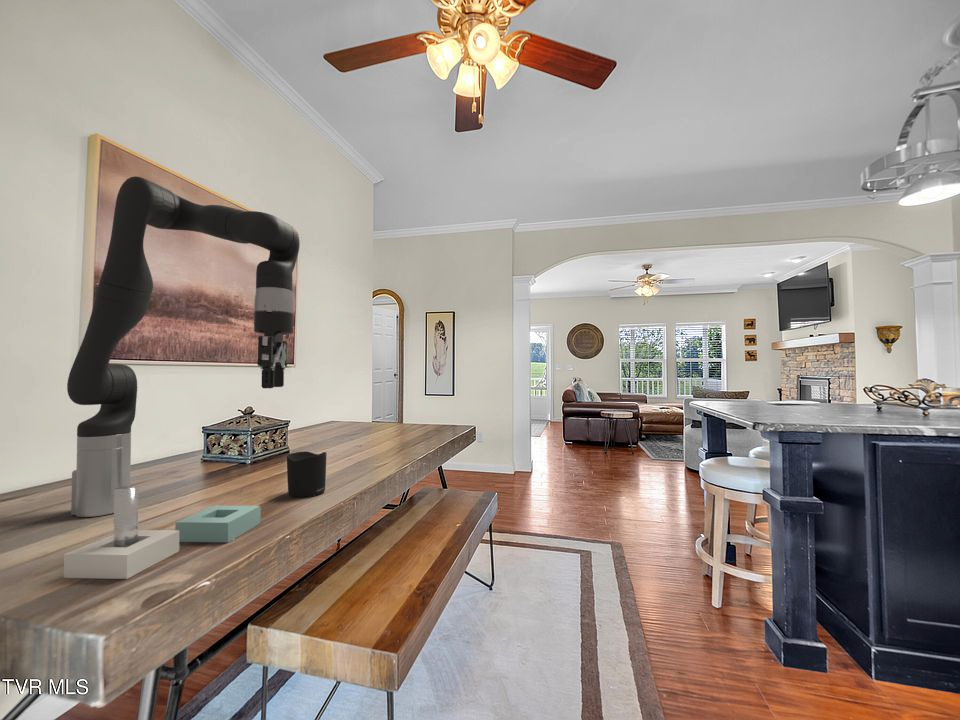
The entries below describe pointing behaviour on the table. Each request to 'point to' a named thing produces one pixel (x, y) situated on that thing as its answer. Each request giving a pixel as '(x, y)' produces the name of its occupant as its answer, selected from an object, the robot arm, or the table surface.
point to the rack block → (218, 523)
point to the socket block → (121, 556)
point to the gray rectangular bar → (125, 516)
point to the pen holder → (306, 474)
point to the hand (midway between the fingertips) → (273, 387)
